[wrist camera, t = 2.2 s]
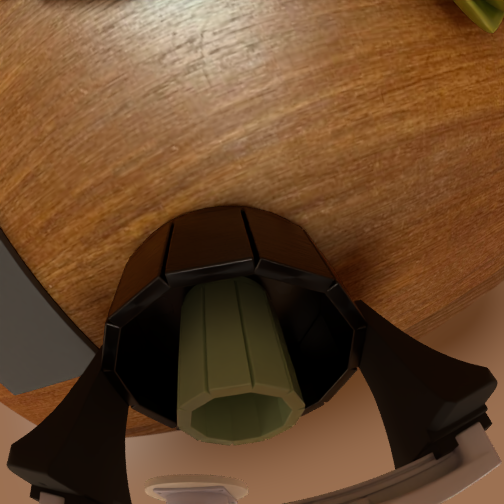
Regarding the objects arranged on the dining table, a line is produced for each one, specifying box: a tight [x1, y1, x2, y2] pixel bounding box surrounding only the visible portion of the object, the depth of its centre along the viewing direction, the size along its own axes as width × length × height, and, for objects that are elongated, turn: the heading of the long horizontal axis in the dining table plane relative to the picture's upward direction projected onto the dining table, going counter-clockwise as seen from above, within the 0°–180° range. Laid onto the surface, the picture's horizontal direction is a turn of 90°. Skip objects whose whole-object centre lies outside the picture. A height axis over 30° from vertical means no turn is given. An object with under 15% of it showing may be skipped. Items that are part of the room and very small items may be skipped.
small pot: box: [177, 276, 305, 445], centre depth 12 cm, size 4×5×6 cm
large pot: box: [101, 206, 367, 430], centre depth 13 cm, size 10×10×4 cm
